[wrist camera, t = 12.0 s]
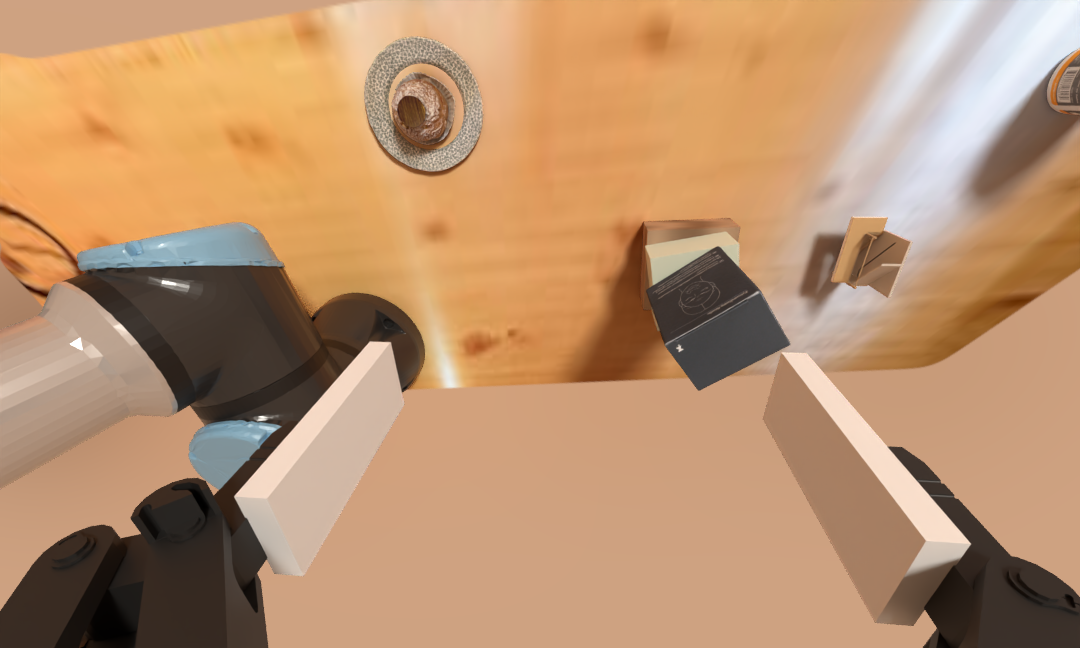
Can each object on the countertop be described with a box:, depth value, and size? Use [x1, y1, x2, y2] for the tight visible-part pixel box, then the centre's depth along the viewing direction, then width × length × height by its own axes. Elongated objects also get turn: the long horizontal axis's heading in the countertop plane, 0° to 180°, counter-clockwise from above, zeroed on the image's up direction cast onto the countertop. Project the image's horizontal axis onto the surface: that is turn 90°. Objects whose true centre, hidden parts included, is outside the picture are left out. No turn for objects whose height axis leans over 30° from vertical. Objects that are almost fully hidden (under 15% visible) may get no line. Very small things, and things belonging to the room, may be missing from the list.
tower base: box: [640, 218, 740, 310], centre depth 47 cm, size 9×9×4 cm
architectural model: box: [831, 217, 913, 298], centre depth 43 cm, size 3×7×7 cm, turn 1°
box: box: [646, 246, 791, 390], centre depth 37 cm, size 8×6×11 cm
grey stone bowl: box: [364, 36, 483, 172], centre depth 41 cm, size 12×12×5 cm
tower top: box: [645, 232, 739, 331], centre depth 43 cm, size 8×8×4 cm
